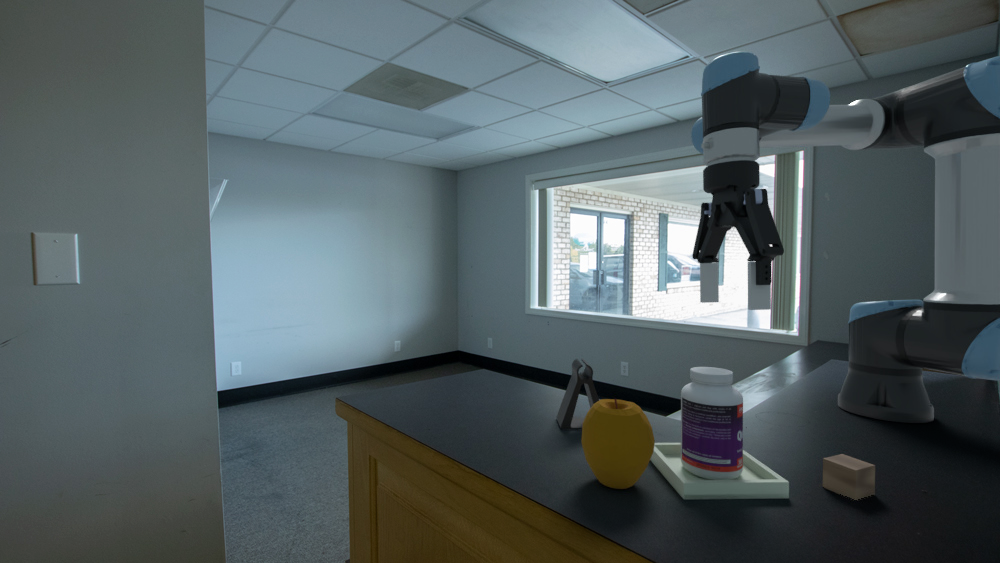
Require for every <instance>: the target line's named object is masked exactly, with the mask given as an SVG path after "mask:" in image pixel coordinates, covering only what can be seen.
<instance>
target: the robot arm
mask: <svg viewBox="0 0 1000 563" xmlns="http://www.w3.org/2000/svg"><path fill="white" fill-rule="evenodd" d="M760 68H761V66H760V65H759V58H758V56H757V55H755V54H754V53H753V52H750V51H746V50H745V51H733V52H730V53H725V54H722V55H719V56H717V57H715V58H714V59H712V60H710V61H709V62H708V63H707V64H706V66H705V67H704V69H703V71H702V79H701V80H702V82H701V92H700V95H701V110H702V112H701V113H702V116H701V117H700V118H698V119H697V120H696V121H695V123H694V124H693V126H692V128H691V131H690V132H691V133H690V134H691V136H690V137H691V143H692V145H693V147H694V149H695V150H696V151H697V152H698V153H700V154H702V155H703V158H702V160H703V162H702V163H703V165H705V166H706V167H704V169H703V170H702V179H703V180H702V181H703V184H702V189H703V191H704V192H705V193H707V194H711V195H712V198H711V199H712V201H711V202H702V203H701V204H700V218H699V223H698V227H697V228H698V229H697V232H696V237H695V240H694V241H695V242H694V244H693V246H694V247H693V252H692V256H691V257H692V259H693V260H697V262H698V263H699V290H700V291H699V292H700V299H699V300H700V303H702V304H703V303H704V304H705V303H720V301H719V297H720V295H719V294H720V293H719V292H720V291H719V262H720V260H719V259H718V257H717V256H718V254H719V252H720V249H721V247H722V244H723V242H724V241H725V240H724V239H725V238H726V235H727V233H728V231H731V230H732V228H733V227H734V228H735V229H736V231H737V233H738V235H739V237H740V238H741V241H742V243H743V244H744V246H745V248H746V250H747V252H748V254H749V255H748V257H747V259H746V260H747V309H748V310H749V311H762V310H763V311H765V310H769V311H770V310H771V309H772V297H771V296H772V293H771V291H772V289H771V285H772V281H773V280H772V263H773V262H772V261H774V260H775V258H776V257H777V256H778V257H779V256H783V254H784V253H785V249H784V245H783V242H782V240H781V236H780V235H779V232H778V229H777V228H778V227H777V225H776V222H775V220H774V216H773V213H772V210H771V208H770V205H769V199H768V197H769V196H768V190H767V189H766V188H759V186H760V184H761V183H760V182H761V181H760V164H759V162H758V161H757V160H758V159H759V158H760V154H761V153H760V150H761V149H773V148H776V149H777V148H798V147H800V148H801V147H829V146H841V147H842V148H844V149H847V150H850V151H863V150H864V151H865V150H872V151H874V150H875V151H876V150H902V149H912V148H918V147H923V152H924V153H925V154H927V155H929V156H930V157H932V158H933V159H934V162H935V164H934V175H935V176H934V289H933V291H932V292H931V293H930V294H928V295H926V296H925V297H923V300H922V299H895V300H879V301H878V300H877V301H876V300H874V301H862V302H860V301H859V302H857V303H854V304H853V305H852V306H851V307H850V309H849V310H850V311H849V320H848V321H847V325H848V371H847V374H846V376H845V379H844V381H843V383H842V387H841V390H840V391H839V392H838V395H837V406H838V407H839V408H840V409H842V410H844V411H847V412H849V413H851V414H855V415H858V416H862V417H866V418H871V419H875V420H882V421H888V422H894V423H904V424H906V423H908V424H926V423H931V422H933V421H934V420H935V419H934V418H935V407H934V406H933V404H932V403H931V401H930V397H929V394H928V390H927V389H926V385H925V382H924V379H923V370H924V369H926V370H932V371H937V372H943V373H949V374H954V375H959V376H962V377H963V376H965V377H966V378H969V379H974V380H975V379H982V380H988V381H989V380H990V381H996V382H997V381H998V382H999V381H1000V55H998V56H993V57H991V58H987V59H984V60H981V61H978V62H971V63H969V64H967V65H966V66H963V67H961V68H957V69H955V70H952V71H949V72H946V73H944V74H943V73H942V74H941V75H937V76H935V77H931V78H929V79H927V80H924V81H920V82H919V83H916V84H912V85H909V86H907V87H904V88H901V89H899V90H896V91H893V92H890V93H887V94H884V95H882V96H881V95H880V96H878V97H873V98H862V99H858V100H855V101H853V102H851V103H850V104H831V91H830V89H829V87H828V86H827V85H826V83H825V82H823V81H822V80H818V79H814V78H808V77H806V76H789V75H779V74H778V75H777V74H776V75H775V74H768V73H763V72H760ZM771 245H772V246H771Z"/></svg>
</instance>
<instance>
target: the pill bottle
mask: <svg viewBox="0 0 1000 563" xmlns="http://www.w3.org/2000/svg"><path fill="white" fill-rule="evenodd" d="M689 370H690V371H689V377H690V380H691V382H689V383H687V384H685V385H684V386H683V387H682V389H681V391H680V443H681V463H682V465H683V466H684V467H685V468H686V469H687V470H688V471H689V472H691V473H693V474H695V475H697V476H699V477H702V478H706V479H711V480H732V479H735V478H737V477H739V476H740V475H741V473H742V471H743V450H744V396H743V394H742V393H741V391H740V390H738V389H737V388H736V387H734V386H732V384H733V381H734V372H733V371H732V370H729V369H727V368H722V367H712V366H694V367H691V368H690V369H689Z"/></svg>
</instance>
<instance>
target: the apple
mask: <svg viewBox="0 0 1000 563" xmlns="http://www.w3.org/2000/svg"><path fill="white" fill-rule="evenodd" d="M655 443H656V441H655V435H654V432H653V426H652V425H651V422H650V420H649V418H648V416H647V415H646V413H645V412H644V411H643V409H642V408H641V407H640V406H639V405H638V404H636V403H635V402H633V401H627V400H623V399H617V397H615V398H612V399H611V398H602V399H599V401H598V402H596V403H595V404H593V406H592V407H591V408H589V410H588V411H587V413H586V415H585V419H584V422H583V426H582V430H581V445H582V450H583V455H584V459H585V461H586V463H587V464H588V466H589V468H590V470H591V471H592V473H593V475H594V476H595V478H596V479H597V480H598V482H599V483H601V485H603V486H605V487H607V488H608V487H609V488H610V489H615V490H616V489H617V490H618V489H619V490H624V489H628V488H629V489H630V488H631V487H633V486H634V485H635V484H636V483H637V482H638V481H639V480H640V478H641V477H642V475H643V474H644V472H645V471H646V470H647V468H648V465H649V463H650V462H651V460H650V459H651V456H652V454H653V452H654V444H655Z"/></svg>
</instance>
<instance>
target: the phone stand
mask: <svg viewBox="0 0 1000 563" xmlns="http://www.w3.org/2000/svg"><path fill="white" fill-rule="evenodd" d="M581 362H582V363H583V364H584V365H585V366H584V365H583V364H582V363H581ZM581 362H580V360H579V359H578V358H576V359H574V360H573V361H572V363H571V370H572V371H571V376H570V379H569V382H568V384H567V387H566V390H565V393H564V394H563V399H562V401H561V403H560V406H559V409H558V412H557V413H556V414H557V415H556V420H557V423H558V425H559V428H560V430H561V429H582V426H583V422H584V419H585V417H586V416H585V417H584V416H583V417H582V416H581V417H577V416H575V417H574V415H575V411H576V410H575V409H576V407H577V403H578V401H579V400H578V398H579V396H580V392H581V389H582V385H584V388H585V392H586V396H587V400H588V404H589V407H590V408H591V407H592V406H593V404H595V403H596V402H598V401H599V400H600V398H599V395H598V392H597V390H596V387H595V385H594V384H595V383H594V380H593V376H594V370H593V368H592V367H591V366H590V365H589V363H588V362H586V360H584V359H583V358H581ZM582 367H584V369H583V371H582V372H580V369H581V368H582ZM590 408H589V409H590Z"/></svg>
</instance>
